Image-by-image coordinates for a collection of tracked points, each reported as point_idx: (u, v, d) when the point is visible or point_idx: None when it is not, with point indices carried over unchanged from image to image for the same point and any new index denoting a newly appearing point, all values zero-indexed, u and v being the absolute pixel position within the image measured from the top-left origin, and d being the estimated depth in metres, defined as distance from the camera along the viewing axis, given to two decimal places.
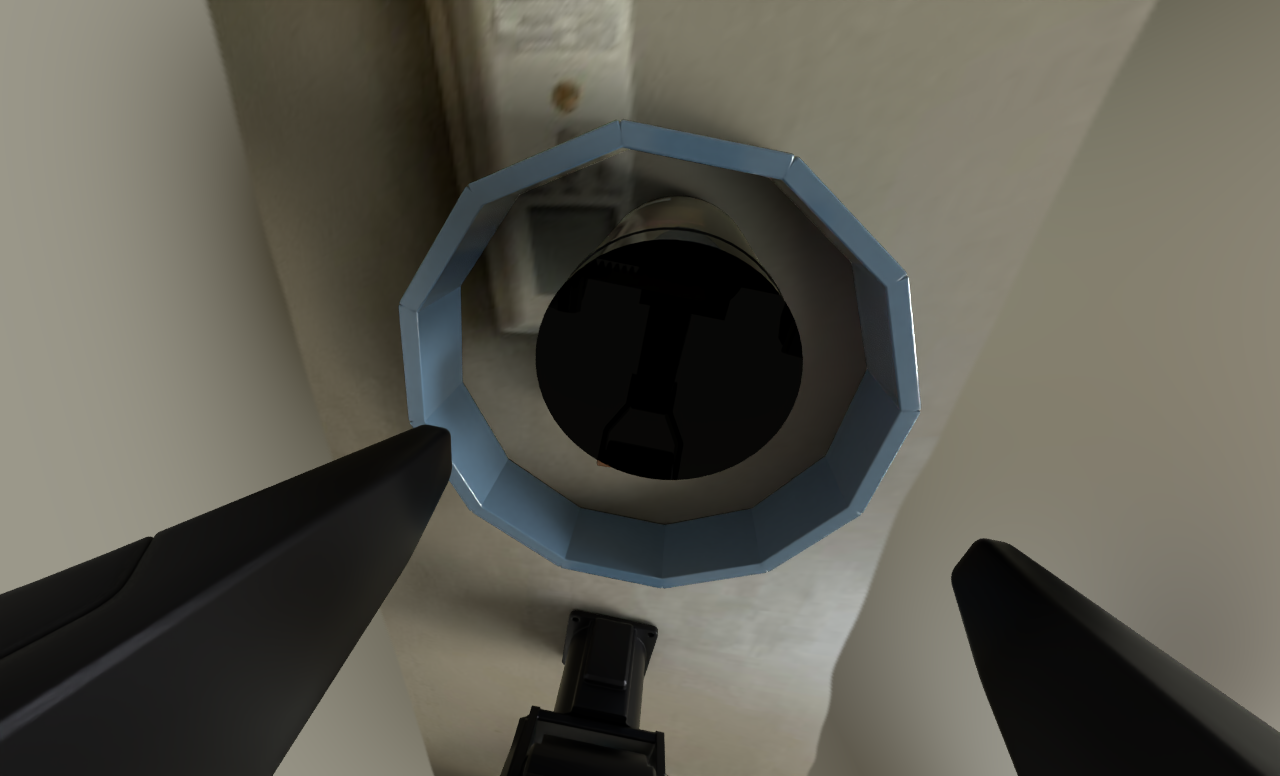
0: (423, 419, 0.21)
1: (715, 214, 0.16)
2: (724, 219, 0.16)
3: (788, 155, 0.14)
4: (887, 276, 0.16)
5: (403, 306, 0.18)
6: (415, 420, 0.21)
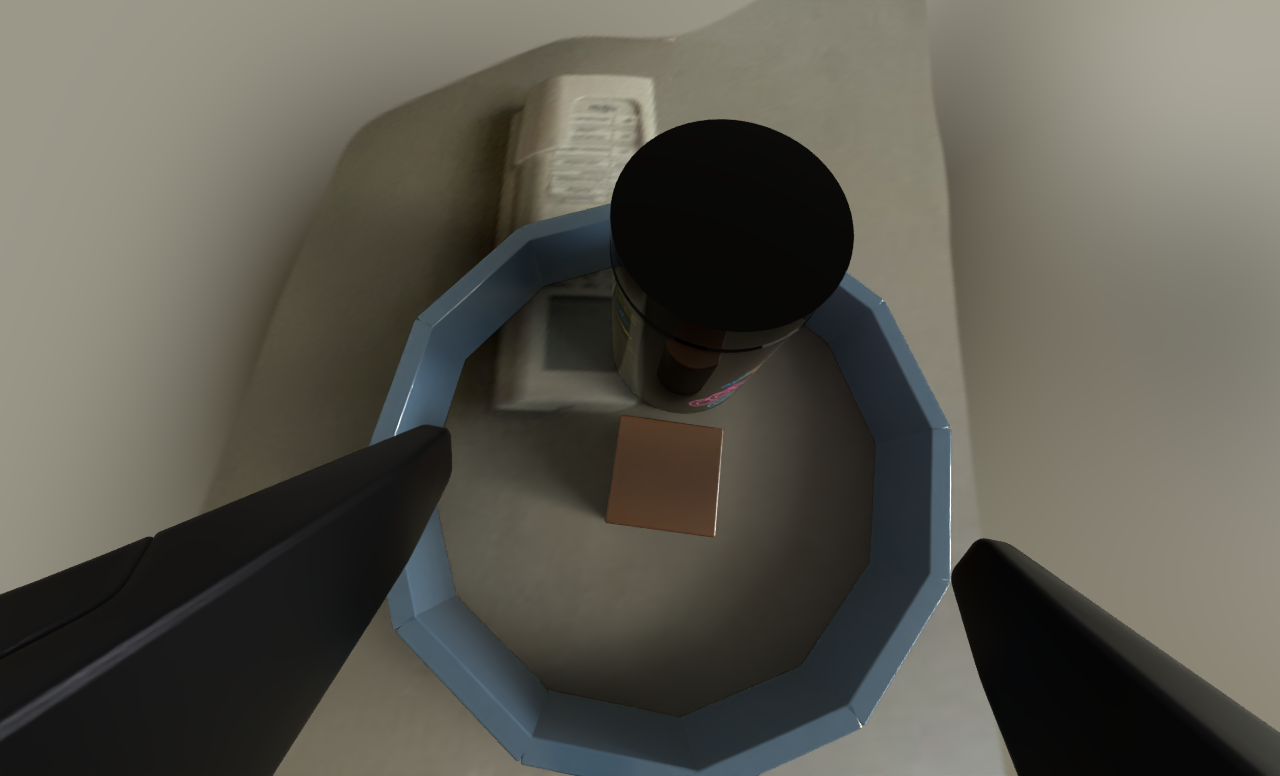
0: None
1: None
2: None
3: None
4: (869, 300, 0.19)
5: (420, 321, 0.18)
6: None
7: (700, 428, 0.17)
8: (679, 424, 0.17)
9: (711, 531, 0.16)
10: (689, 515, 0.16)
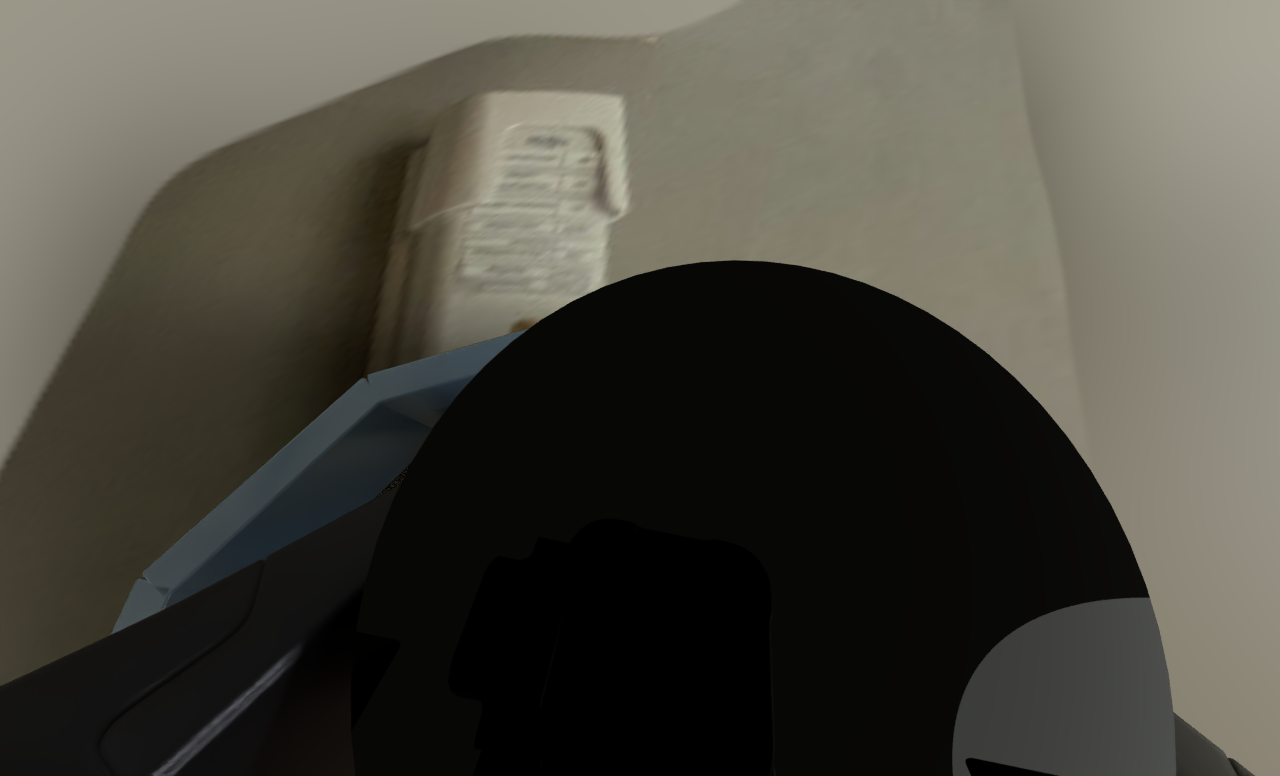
0: None
1: None
2: None
3: None
4: None
5: (147, 581, 0.09)
6: None
7: None
8: None
9: None
10: None
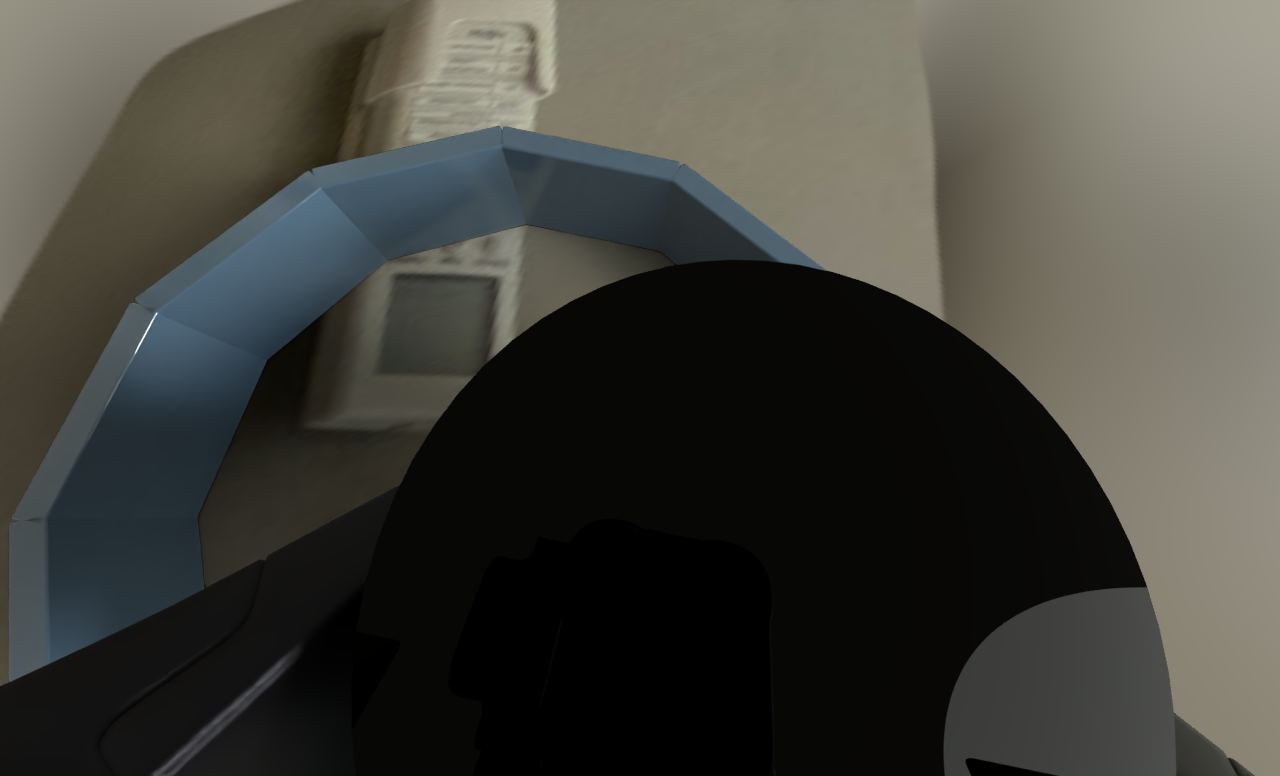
0: (44, 515, 0.11)
1: None
2: None
3: (674, 162, 0.14)
4: None
5: (138, 304, 0.12)
6: (25, 517, 0.10)
7: None
8: None
9: None
10: None
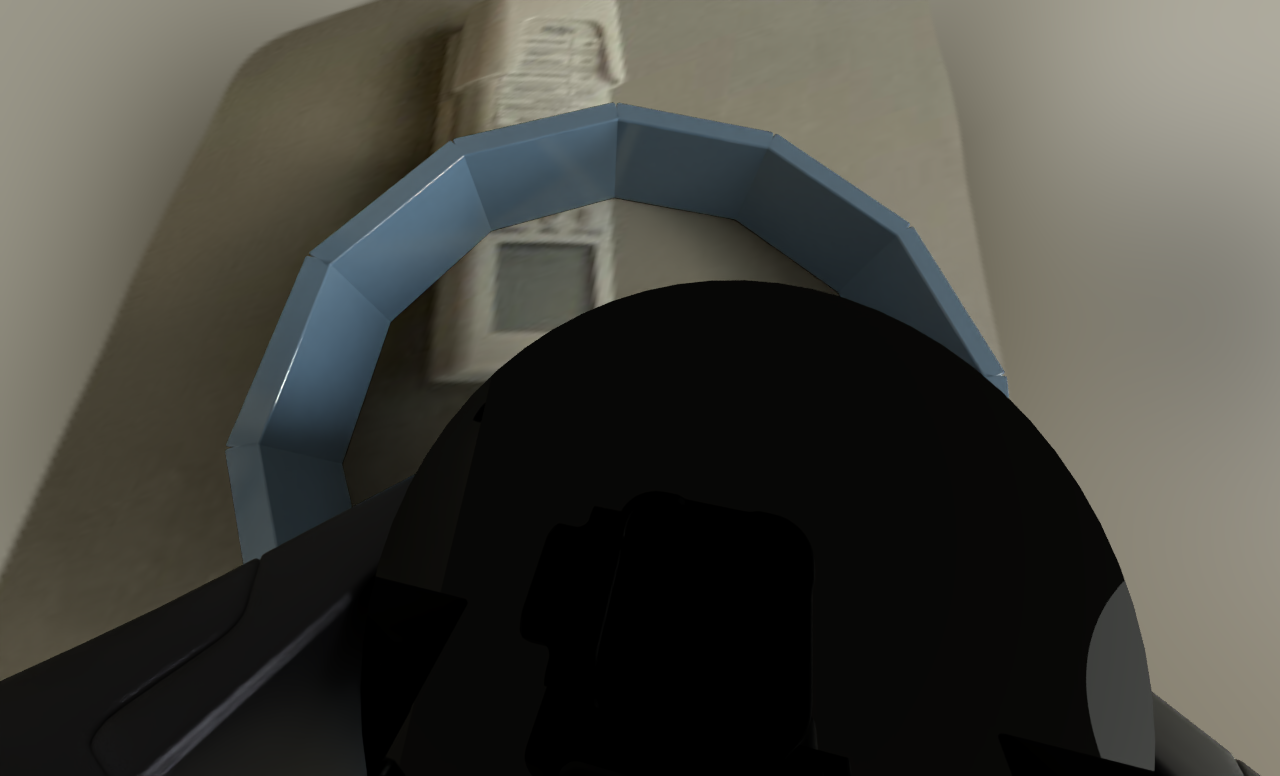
0: (257, 441, 0.12)
1: None
2: None
3: (768, 132, 0.16)
4: (893, 225, 0.15)
5: (313, 257, 0.13)
6: (239, 443, 0.12)
7: None
8: None
9: None
10: None
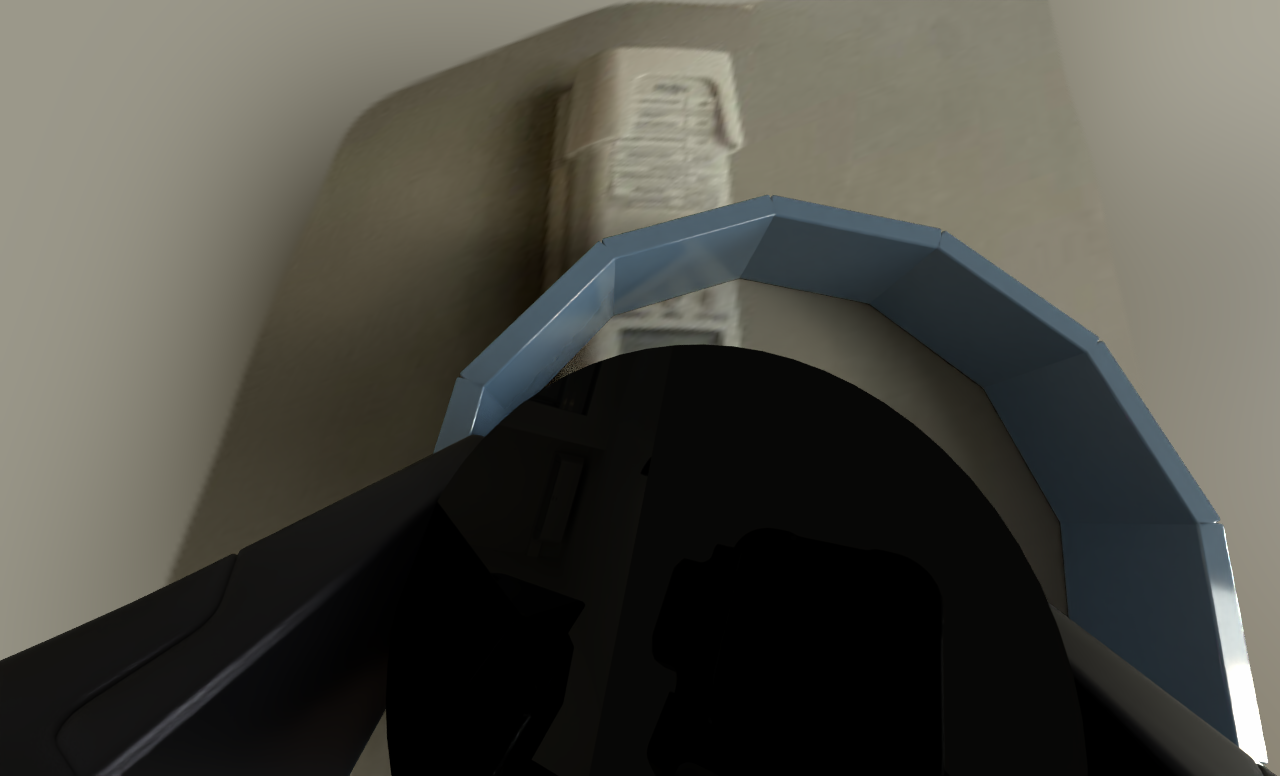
0: None
1: None
2: None
3: (935, 229, 0.15)
4: (1081, 339, 0.14)
5: (465, 379, 0.12)
6: None
7: None
8: None
9: None
10: None
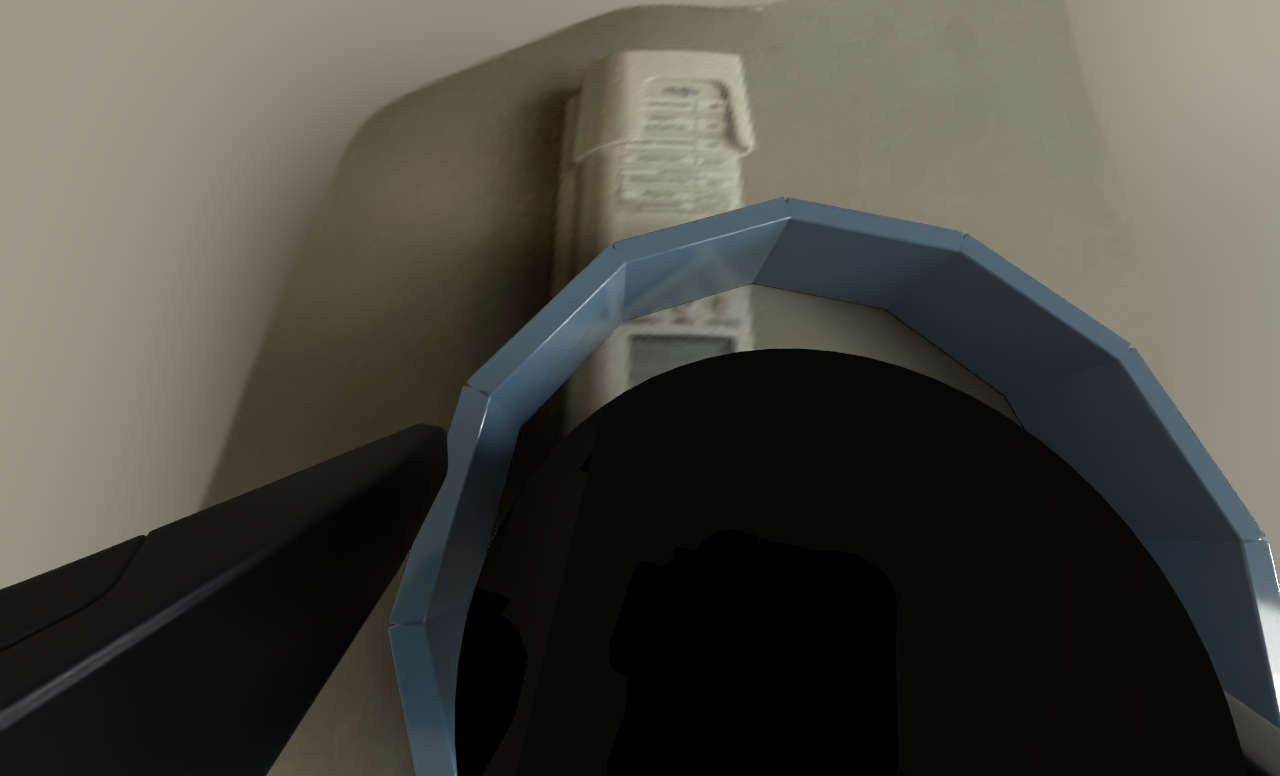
0: (422, 618, 0.10)
1: None
2: None
3: (957, 232, 0.14)
4: (1113, 346, 0.13)
5: (471, 388, 0.12)
6: (403, 621, 0.10)
7: None
8: None
9: None
10: None
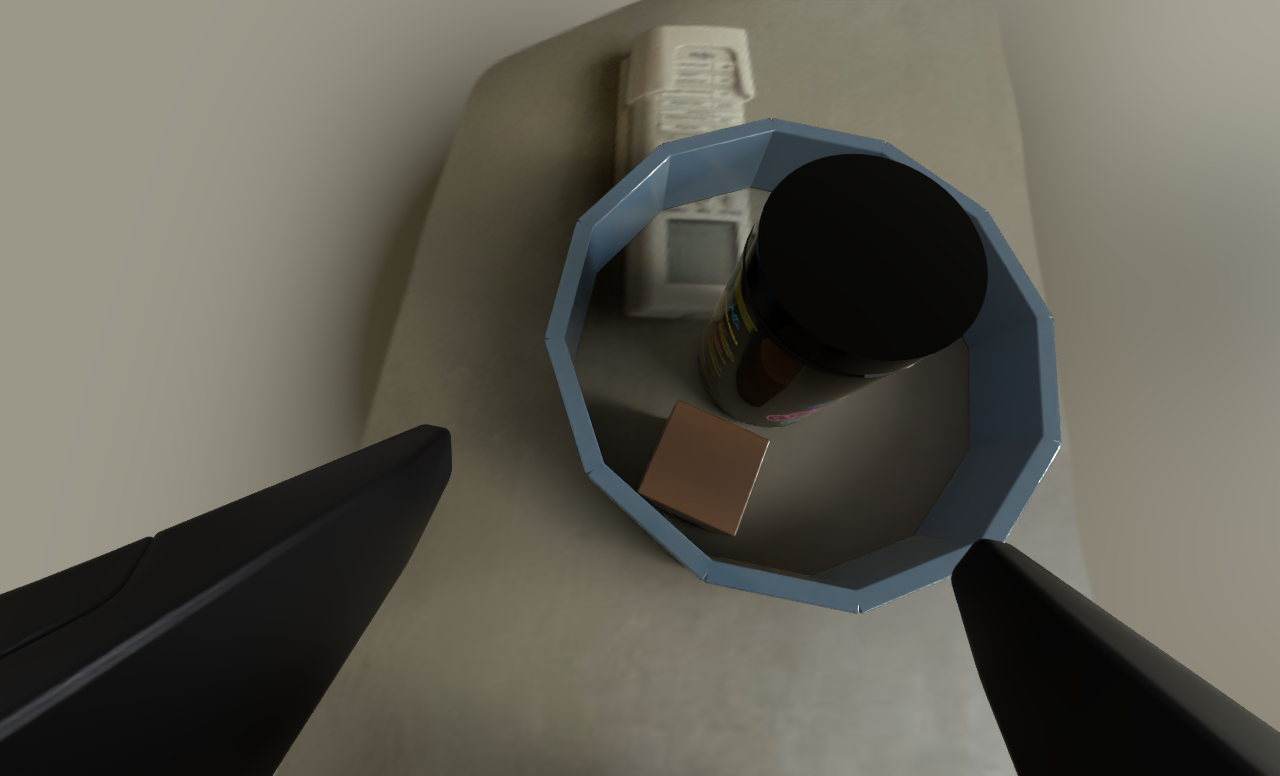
0: (563, 335, 0.18)
1: None
2: None
3: (881, 141, 0.22)
4: (973, 210, 0.21)
5: (581, 222, 0.20)
6: (553, 336, 0.18)
7: (748, 433, 0.18)
8: (729, 424, 0.18)
9: (733, 530, 0.17)
10: (716, 510, 0.17)
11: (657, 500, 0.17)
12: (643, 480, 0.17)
